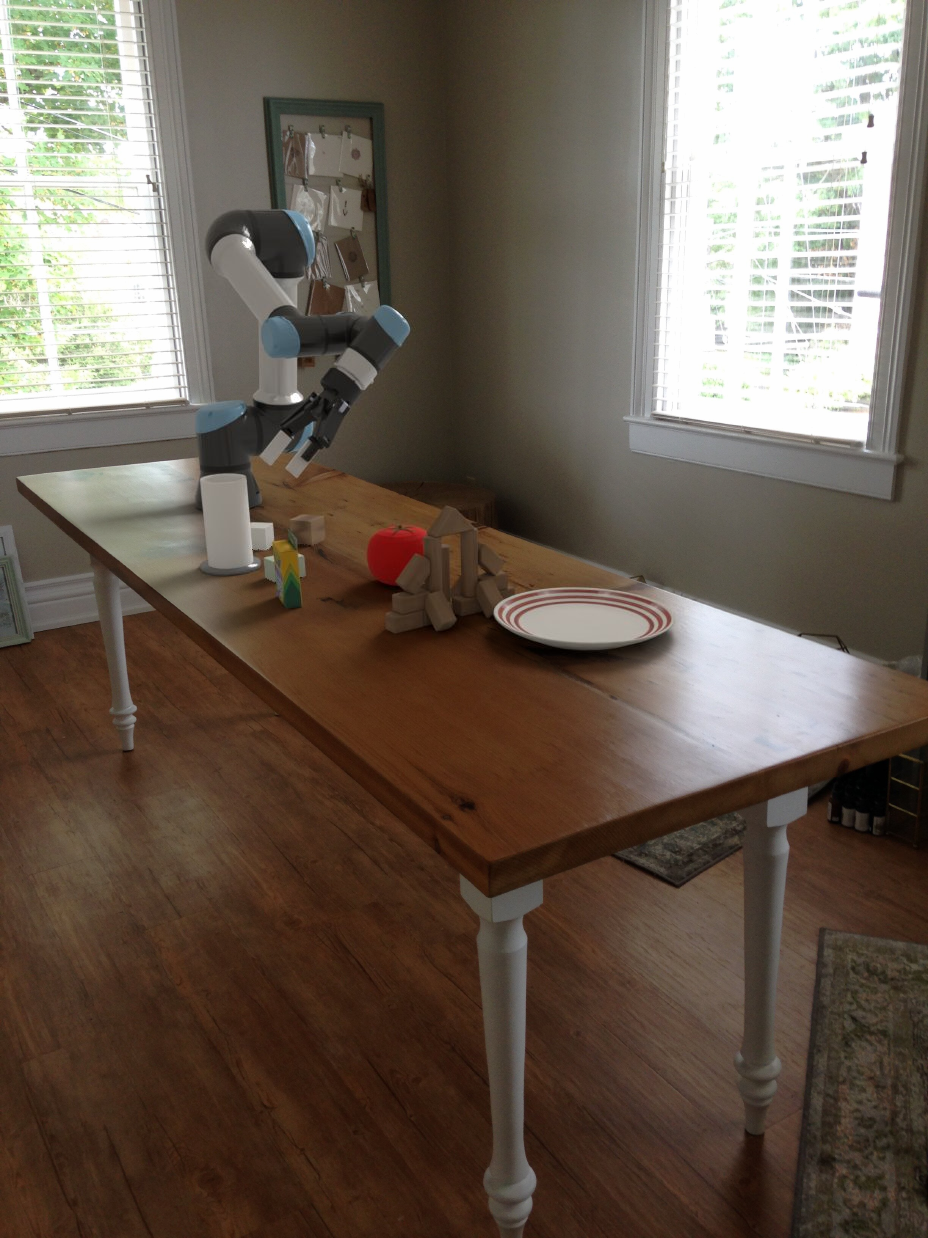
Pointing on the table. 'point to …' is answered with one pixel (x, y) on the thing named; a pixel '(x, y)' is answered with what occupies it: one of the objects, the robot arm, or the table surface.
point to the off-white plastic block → (262, 535)
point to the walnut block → (308, 529)
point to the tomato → (393, 551)
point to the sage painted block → (271, 567)
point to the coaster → (224, 572)
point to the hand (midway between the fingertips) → (277, 467)
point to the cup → (226, 520)
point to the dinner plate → (584, 617)
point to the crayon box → (287, 572)
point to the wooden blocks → (448, 579)
